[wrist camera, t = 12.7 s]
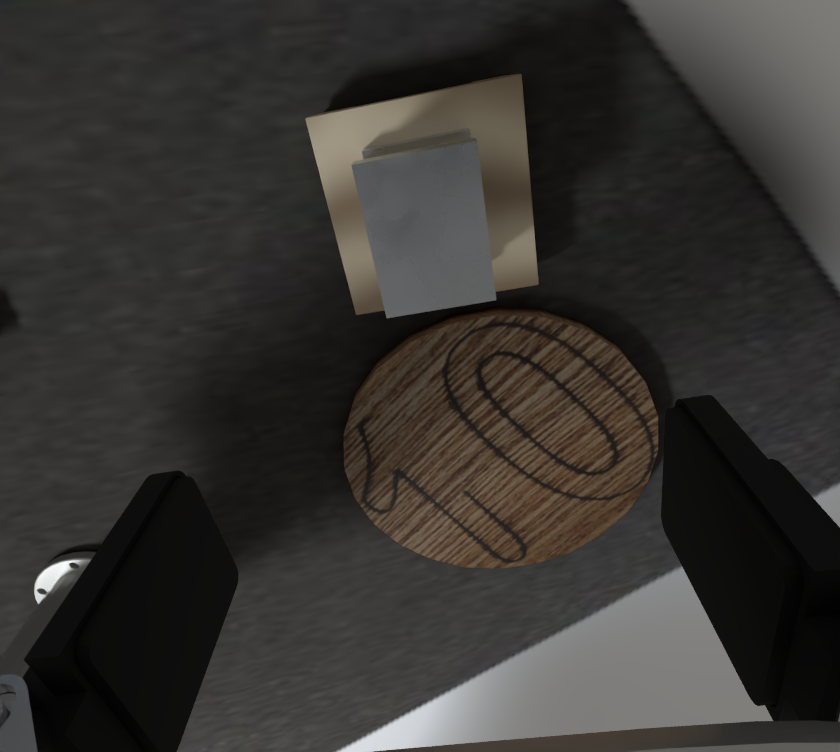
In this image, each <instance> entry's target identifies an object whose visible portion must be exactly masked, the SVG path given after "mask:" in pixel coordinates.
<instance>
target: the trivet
mask: <svg viewBox="0 0 840 752" xmlns="http://www.w3.org/2000/svg"><path fill="white" fill-rule="evenodd" d="M343 437H344V469H345V472H346V475H347V478H348V481H349V483H350V486H351V489H352V492H353V495H354V498H355V499H356V501H357V502H358V503H359V505H360V506H361V507H362V509H363V510H364V511H365V513H366V514H367V515H368V517H369V518H370V519H371V521H372V522H373V523H374V524H375V525H376V526H377V527H378V528H380V529H381V530H382V531H383V532H385V533H386V534H387V535H388V536H390V537H391V538H392V539H393V540H395V541H396V542H397V543H399V544H400V545H402V546H404V547H406V548H408V549H411V550H413V551H415V552H417V553H419V554H421V555H423V556H425V557H428V558H430V559H433V560H437V561H442V562H446V563H450V564H454V565H458V566H463V567H477V568H507V567H515V566H522V565H529V564H536V563H539V562H542V561H545V560H548V559H551V558H554V557H557V556H560V555H563V554H566V553H569V552H572V551H573V550H575V549H577V548H579V547H580V546H582V545H584V544H586V543H588V542H589V541H591V540H593V539H595V538H596V537H598V536H600V535H602V534H603V533H604V532H605V531H606V530H607V529H608V528H610V527H611V526H612V525H613V524H614V523H615V522H616V521H617V520H619V519H620V518H621V517H622V516H623V515H624V514H625V513H626V512H628V510H629V509H630V508H631V506H632V505H633V503H634V502H635V500H636V499H637V497H638V496H639V494H640V493H641V491H642V490H643V489H644V487H645V486H646V484H647V483H648V480H649V477H650V474H651V471H652V468H653V465H654V462H655V459H656V456H657V453H658V415H657V412H656V409H655V406H654V404H653V401H652V398H651V395H650V392H649V390H648V387H647V384H646V382H645V381H644V379H643V378H642V377H641V375H640V374H639V372H638V371H637V370H636V369H635V367H634V366H633V365H632V364H631V362H630V361H629V360H628V359H627V357H626V356H625V355H624V354H623V352H622V351H621V350H620V349H619V347H618V346H617V345H616V344H615V343H613V342H612V341H610V340H609V339H607V338H606V337H604V336H603V335H601V334H600V333H598V332H597V331H595V330H594V329H592V328H591V327H589V326H588V325H586V324H585V323H583V322H581V321H577V320H574V319H571V318H568V317H565V316H562V315H559V314H555V313H552V312H549V311H546V310H543V309H534V308H516V307H497V306H495V307H489V308H484V309H479V310H474V311H469V312H463V313H458V314H453V315H449V316H447V317H445V318H443V319H440V320H438V321H436V322H434V323H432V324H430V325H427V326H425V327H423V328H421V329H419V330H416V331H414V332H412V333H410V334H409V335H407V336H406V337H405V338H404V339H403V340H401V341H400V342H399V343H398V344H396V345H395V346H394V347H393V348H392V349H390V350H389V351H388V352H387V353H386V354H384V355H383V356H382V357H381V358H379V359H378V360H377V362H376V363H375V365H374V366H373V368H372V369H371V370H370V372H369V373H368V375H367V376H366V378H365V379H364V380H363V382H362V383H361V385H360V386H359V388H358V389H357V391H356V394H355V397H354V400H353V403H352V406H351V409H350V413H349V416H348V419H347V422H346V426H345V430H344V435H343Z"/></svg>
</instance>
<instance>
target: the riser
mask: <svg viewBox="0 0 840 752" xmlns="http://www.w3.org/2000/svg"><path fill="white" fill-rule="evenodd" d="M305 119H306V123H307V127H308V131H309V135H310V139H311V142H312V146H313V150H314V154H315V158H316V162H317V166H318V169H319V173H320V177H321V181H322V185H323V189H324V193H325V197H326V200H327V204H328V208H329V212H330V216H331V220H332V224H333V227H334V231H335V235H336V239H337V243H338V247H339V251H340V254H341V258H342V262H343V266H344V270H345V274H346V278H347V282H348V285H349V289H350V293H351V297H352V301H353V305H354V309H355V312H356V315H360V314H366V313H372V312H378V311H384V305H383V301H382V297H381V292H380V288H379V284H378V279H377V275H376V271H375V266H374V262H373V257H372V253H371V249H370V244H369V240H368V236H367V231H366V227H365V223H364V218H363V214H362V210H361V205H360V201H359V197H358V192H357V188H356V183H355V179H354V175H353V170H352V166H351V165H352V163H353V162H354V161H358V160H363V155H362V150H363V149H364V148H369V147H374V146H379V145H384V144H389V143H394V142H399V141H405V140H410V139H415V138H420V137H425V136H430V135H435V134H440V133H445V132H450V131H455V130H460V129H466V128H469V130H470V135H471V138H476V140H477V145H478V153H479V161H480V169H481V177H482V186H483V194H484V202H485V210H486V218H487V227H488V235H489V243H490V251H491V259H492V268H493V276H494V284H495V292H498V291H504V290H510V289H516V288H522V287H528V286H534V285H539V283H538V270H537V258H536V246H535V233H534V221H533V209H532V196H531V184H530V172H529V159H528V147H527V135H526V122H525V110H524V98H523V86H522V74H512V75H504V76H499V77H494V78H489V79H484V80H479V81H475V82H471V83H468V84H463V85H459V86H454V87H449V88H444V89H439V90H434V91H429V92H424V93H420V94H415V95H410V96H405V97H400V98H395V99H390V100H385V101H381V102H376V103H371V104H366V105H361V106H356V107H355V106H353V107H348V108H343V109H338V110H333V111H328V112H323V113H321V114H317V115H312V116H310V117H307V118H305Z"/></svg>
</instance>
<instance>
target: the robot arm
mask: <svg viewBox="0 0 840 752" xmlns="http://www.w3.org/2000/svg"><path fill="white" fill-rule="evenodd" d="M661 518H662V524H663V528H664V531H665V533H666V535H667V537H668V539H669V541H670V543H671V545H672V547H673V549H674V551H675V553H676V555H677V557H678V559H679V561H680V563H681V565H682V567H683V569H684V570H685V572H686V574H687V576H688V578H689V580H690V582H691V584H692V586H693V588H694V590H695V592H696V594H697V596H698V598H699V600H700V601H701V604H702V606H703V607H704V609H705V611H706V613H707V615H708V617H709V619H710V621H711V623H712V625H713V627H714V629H715V631H716V633H717V635H718V637H719V639H720V641H721V642H722V644H723V646H724V648H725V650H726V652H727V654H728V656H729V658H730V660H731V662H732V664H733V666H734V668H735V670H736V672H737V674H738V676H739V677H740V680H741V681H742V683H743V685H744V687H745V689H746V691H747V693H748V695H749V697H750V698H751V700H752V701H753V702H754V704H756V705H757V706H761V705H765V706H766V708H767V710H768V711H769V713H770V715H771V717H772V719H773V721H760V722H759V721H755V722H740V723H724V724H709V725H693V726H678V727H664V728H663V727H662V728H647V729H635V730H622V731H610V732H598V733H586V734H574V735H562V736H550V737H539V738H525V739H514V740H501V741H489V742H479V743H466V744H454V745H443V746H432V747H420V748H409V749H397V750H386V751H375V752H840V528H839V526H838V525H837V524H836V523H835V522H834V521H833V520H832V519H831V518H830V516H829V515H828V514H827V513H826V512H825V511H824V510H823V509H822V508H821V506H820V505H819V504H818V503H817V502H816V501H815V500H814V499H813V497H812V496H811V495H810V494H809V493H808V492H807V491H806V490H805V489H804V487H803V486H802V485H801V484H800V483H799V482H798V481H797V480H796V479H795V477H794V476H793V475H792V474H791V473H790V472H789V471H788V470H787V469H786V467H785V466H783V465H782V464H781V463H780V462H779V461H776V460H774V459H767V458H766V456H765V455H764V454H763V453H762V452H761V451H760V449H759V448H758V447H757V446H756V445H755V444H754V443H753V441H752V440H751V439H750V438H749V437H748V436H747V435H746V433H745V432H744V431H743V430H742V429H741V428H740V427H739V425H738V424H737V423H736V422H735V421H734V420H733V419H732V417H731V416H730V415H729V414H728V413H727V412H726V410H725V409H724V408H723V407H722V406H721V405H720V404H719V402H718V401H717V400H716V399H715V398H714V397H713V396H711V395H705V396H698V397H691V398H684V399H678V400H677V401H676V403H675V408H669V409H667V411H666V416H665V439H664V461H663V484H662V506H661ZM237 584H238V570H237V567H236V565H235V563H234V561H233V558H232V556H231V554H230V552H229V550H228V548H227V546H226V544H225V542H224V540H223V538H222V536H221V534H220V532H219V530H218V528H217V526H216V524H215V522H214V520H213V518H212V515H211V513H210V511H209V509H208V507H207V505H206V503H205V501H204V499H203V497H202V495H201V493H200V491H199V489H198V487H197V485H196V483H195V481H194V479H193V478H191V477H188V476H187V477H186V475H185V474H184V473H183V472H181V471H172V472H165V473H158V474H152V475H150V476H148V477H147V479H146V480H145V481H144V483H143V484H142V486H141V487H140V489H139V490H138V492H137V493H136V495H135V496H134V497H133V499H132V500H131V502H130V503H129V505H128V506H127V508H126V509H125V511H124V512H123V514H122V515H121V517H120V518H119V520H118V521H117V523H116V524H115V525H114V527H113V528H112V530H111V531H110V533H109V534H108V536H107V537H106V539H105V540H104V542H103V543H102V545H101V546H100V548H99V549H98V551H97V552H88V551H84V552H73V553H69V554H65V555H61V556H59V557H57V558H55V559H53V560H52V561H50V562H49V563H48V564H47V565H46V566H45V567H44V568H43V570H42V571H41V572H40V574H39V575H38V577H37V579H36V581H35V584H34V593H35V598H36V601H37V603H38V606H37V607H36V609H35V610H34V611H33V613H32V614H31V616H30V617H29V618H28V620H27V621H26V622H25V624H24V625H23V627H22V628H21V629H20V631H19V632H18V634H17V635H16V636H15V638H14V639H13V641H12V642H11V643H10V645H9V646H8V648H7V649H6V650H5V652H4V653H3V654H2V656H1V657H0V752H176V751H177V749H178V747H179V744H180V741H181V739H182V736H183V733H184V730H185V728H186V725H187V722H188V719H189V717H190V714H191V711H192V708H193V706H194V703H195V700H196V697H197V695H198V692H199V689H200V686H201V684H202V681H203V678H204V675H205V673H206V670H207V667H208V664H209V662H210V659H211V656H212V653H213V651H214V648H215V645H216V642H217V640H218V637H219V634H220V631H221V629H222V626H223V623H224V620H225V617H226V615H227V612H228V609H229V606H230V604H231V601H232V598H233V595H234V593H235V590H236V587H237Z"/></svg>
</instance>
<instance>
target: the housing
mask: <svg viewBox="0 0 840 752" xmlns="http://www.w3.org/2000/svg"><path fill="white" fill-rule="evenodd" d="M362 155H363V160H358V161H354V162H353V163H352V165H351V166H352V170H353V175H354V179H355V183H356V188H357V192H358V197H359V201H360V205H361V210H362V214H363V218H364V223H365V227H366V231H367V236H368V240H369V244H370V249H371V253H372V257H373V262H374V266H375V271H376V275H377V279H378V284H379V288H380V292H381V297H382V301H383V305H384V310H385V314H386V318H392V317H398V316H404V315H410V314H416V313H422V312H428V311H434V310H440V309H446V308H452V307H458V306H464V305H470V304H476V303H483V302H489V301H495V300H496V292H495V284H494V276H493V268H492V259H491V251H490V243H489V235H488V227H487V218H486V210H485V202H484V194H483V186H482V177H481V169H480V161H479V153H478V145H477V140H476V138H471V135H470V130H469V128H466V129H460V130H455V131H450V132H445V133H440V134H435V135H430V136H425V137H420V138H415V139H410V140H405V141H399V142H394V143H389V144H384V145H379V146H374V147H369V148H364V149H363V150H362Z"/></svg>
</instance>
